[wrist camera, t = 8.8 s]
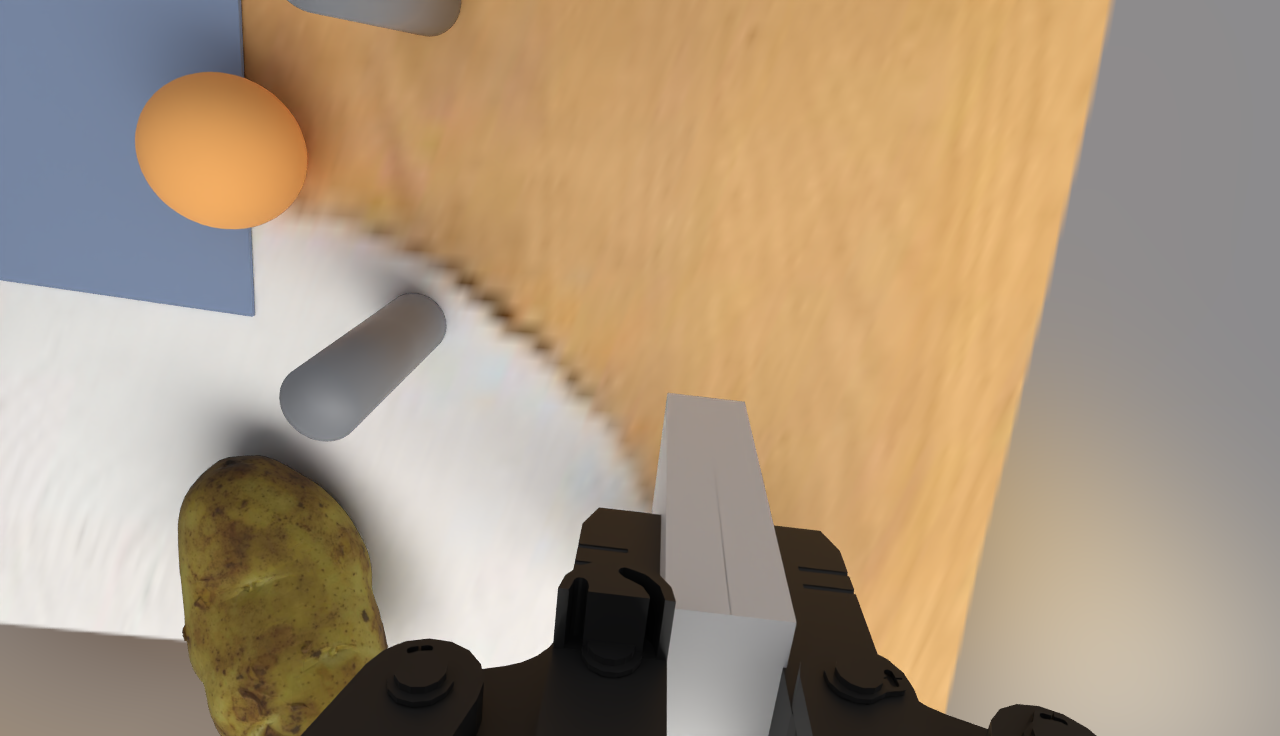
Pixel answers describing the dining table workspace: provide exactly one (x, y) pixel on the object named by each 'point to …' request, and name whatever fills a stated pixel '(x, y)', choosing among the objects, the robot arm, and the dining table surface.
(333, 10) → the post
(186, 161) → the ball
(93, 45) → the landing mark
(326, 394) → the post
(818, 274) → the dining table surface
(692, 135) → the dining table surface
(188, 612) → the potato
